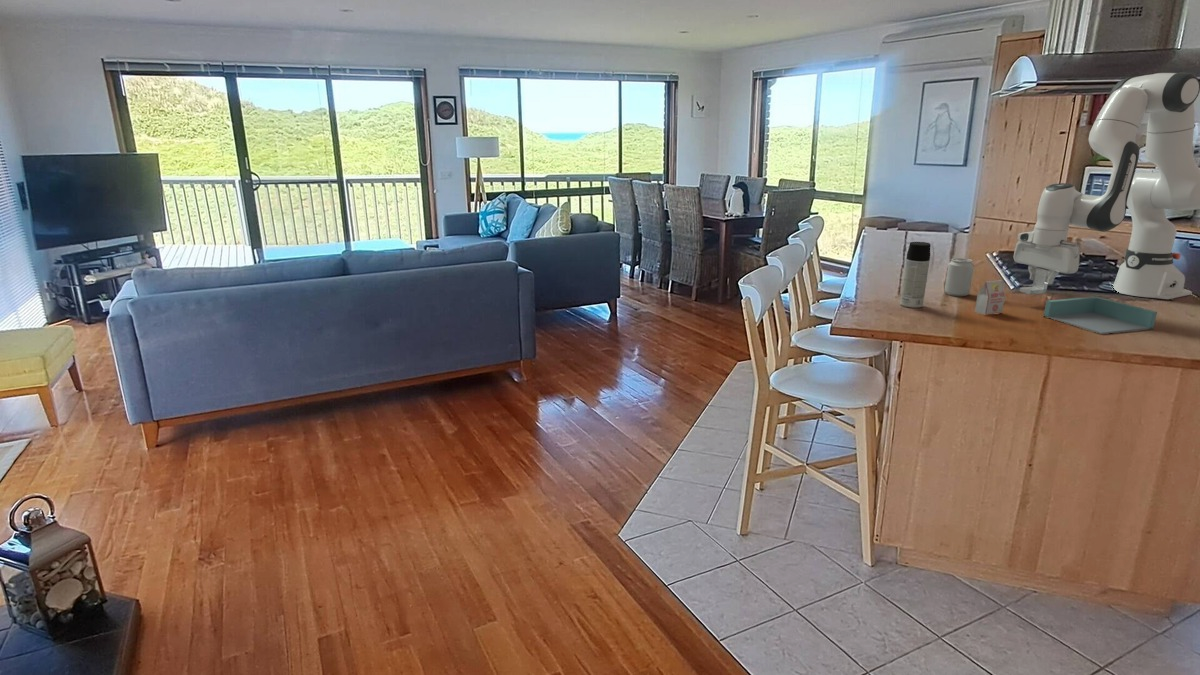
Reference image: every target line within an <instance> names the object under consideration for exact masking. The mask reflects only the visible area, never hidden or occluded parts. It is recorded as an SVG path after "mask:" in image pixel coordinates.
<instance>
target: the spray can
mask: <svg viewBox="0 0 1200 675" xmlns="http://www.w3.org/2000/svg"><path fill="white" fill-rule="evenodd" d="M908 245H909V246H908V250H907V252H906V258H905V264H904V273H903V280H902V287H901V294H900V300H899V301H900V302H899V304H900V306H901V307H905V308H910V309H911V308H912V309H920V308H921V307H923V305H924V299H925V294H926V287H927V280H928V273H929V267H930V261H931V247H932V246H931V243H930V242H926V241H910V242H909V244H908Z"/></svg>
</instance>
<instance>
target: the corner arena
mask: <svg viewBox="0 0 1200 675" xmlns="http://www.w3.org/2000/svg"><path fill="white" fill-rule="evenodd" d="M1157 315H1158V311H1154V310H1152V309H1147V308H1144V307H1141V306H1140V307H1139V306H1135V305H1132V304H1127V303H1123V302H1120V301H1115V300H1112V299H1108V298H1104V297H1100V296H1097V295H1095V296H1086V297H1085V296H1083V297H1082V296H1081V297H1074V298H1061V299H1051V300H1046V301H1045V307H1044V312H1043V316H1045V317H1048V318H1051V319H1054V320H1053V321H1055V320H1058V321H1061V322H1064V323H1067V324H1066V325H1068V324H1071V325H1074V326H1077V327H1080V328H1079V329H1081V328H1084V329H1087V330H1090V331H1093V332H1092V333H1094V332H1096V333H1095V334H1097V333H1100V334H1103V335H1110V334H1109V333H1113V334H1122V333H1131V332H1139V331H1140V332H1141V331H1149V330H1153V329H1154V326H1155V323H1156V322H1155V321H1156V318H1157ZM1045 317H1044V318H1045ZM1048 318H1047V319H1048ZM1051 319H1050V320H1051ZM1058 321H1057V322H1058ZM1061 322H1060V323H1061ZM1064 323H1063V324H1064ZM1071 325H1070V326H1071ZM1074 326H1073V327H1074ZM1077 327H1076V328H1077ZM1084 329H1083V330H1084ZM1087 330H1086V331H1087ZM1090 331H1089V332H1090ZM1121 332H1122V333H1121ZM1100 334H1099V335H1100Z"/></svg>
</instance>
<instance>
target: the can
mask: <svg viewBox="0 0 1200 675" xmlns="http://www.w3.org/2000/svg"><path fill="white" fill-rule="evenodd" d="M974 267H975V265H974V263H973V259H970V258H964V257H963V258H962V257H956V258H955V257H954V258H951V261H950V262H948V266H947V272H946V278H945V283H944V284H945V286H944V292H945V294H947V295H949V296H952V297H966V296H968V295H969V294H971V286H972V279H973V275H974V274H973V273H974V269H975V268H974Z"/></svg>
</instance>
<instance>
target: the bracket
mask: <svg viewBox="0 0 1200 675" xmlns="http://www.w3.org/2000/svg"><path fill="white" fill-rule="evenodd" d="M1049 271H1050V270H1048V269H1044V268H1040V267H1037V269H1036V272H1035V277H1034V280H1033V283H1032V286H1024V287H1019V292H1021V293H1024V294H1028V295H1037V294H1039V295H1040V294H1046V293H1047V290H1048V285H1049V284H1046V283H1044V282H1045V278H1048V277H1049V276H1050V273H1049Z"/></svg>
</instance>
